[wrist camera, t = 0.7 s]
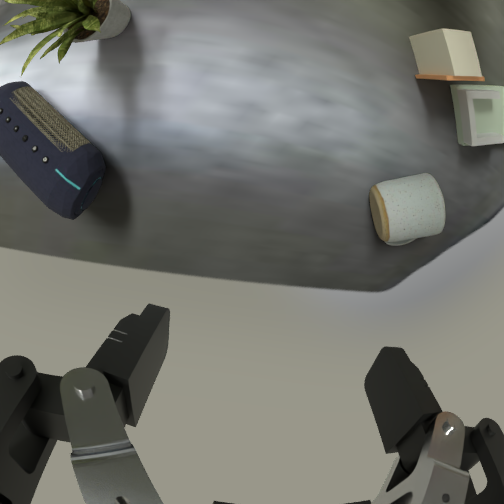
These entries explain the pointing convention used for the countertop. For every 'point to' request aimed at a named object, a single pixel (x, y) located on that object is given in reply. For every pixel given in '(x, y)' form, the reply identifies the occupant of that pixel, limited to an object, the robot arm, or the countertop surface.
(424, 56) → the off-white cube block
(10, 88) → the portable speaker
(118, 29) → the house plant
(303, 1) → the countertop surface
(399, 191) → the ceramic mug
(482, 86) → the rail
